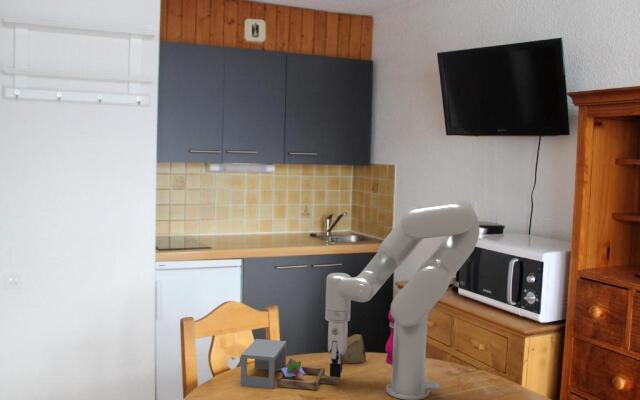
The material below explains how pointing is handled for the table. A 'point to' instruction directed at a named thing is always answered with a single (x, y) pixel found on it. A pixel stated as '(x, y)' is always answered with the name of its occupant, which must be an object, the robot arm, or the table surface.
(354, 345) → the rock
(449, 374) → the table surface
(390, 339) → the pepper mill
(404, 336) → the robot arm
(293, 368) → the geometric puzzle
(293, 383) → the brown open frame
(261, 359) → the open box
